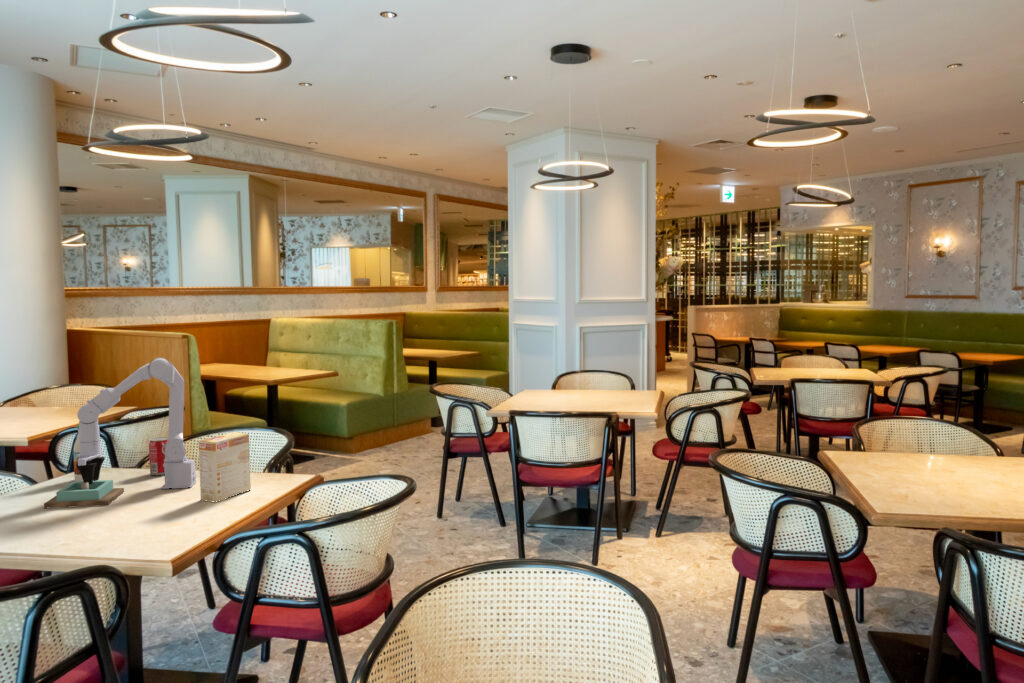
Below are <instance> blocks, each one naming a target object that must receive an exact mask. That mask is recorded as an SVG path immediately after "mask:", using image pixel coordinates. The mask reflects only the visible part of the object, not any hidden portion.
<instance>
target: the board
mask: <svg viewBox="0 0 1024 683" xmlns="http://www.w3.org/2000/svg"><path fill="white" fill-rule="evenodd" d="M88 489H89V483H88V482H84V483H81V490H88ZM123 492H124V493H125V488H124V487H116V488H115V487H113V489H112V490H111V491H110V492H108V493H107V494H106V495H104V496H103V497H102V498H101V499H99V500H82V501H63V502H57V498H56V495H55V496H54V497H52V498H51V499H49V500H47V501H46V502H44V503H43V507H44V508H43V509H48V508H47V507H62V508H70V507H69V506H81V507H92V506H91V505H94V506H93V507H96V506H95V505H99V506H109V505H110V504H111V503H113V502H115V500H117V497H118V496H119V497H120V496H121V495H123V494H124V493H123ZM112 501H113V502H112ZM108 504H109V505H108Z"/></svg>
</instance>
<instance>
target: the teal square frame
mask: <svg viewBox="0 0 1024 683" xmlns="http://www.w3.org/2000/svg"><path fill="white" fill-rule="evenodd" d="M81 483H84V481H81V482H76V481H72V482H70V483H68V484H67V485H66V486H64V487H62V488H60V489H59V490H58V491H56V492H55V496H56V498H57V502H63V501H82V500H99V499H101V498H102V497H103V496H104V495H106V494H107V493H108V492H110V491H111V490H112V489H113V488H114V480H113V479H108V480H107V479H106V480H105V479H104V480H102V479H101V480H95V481H93V483H92V484H89V489H88V490H81Z"/></svg>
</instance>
